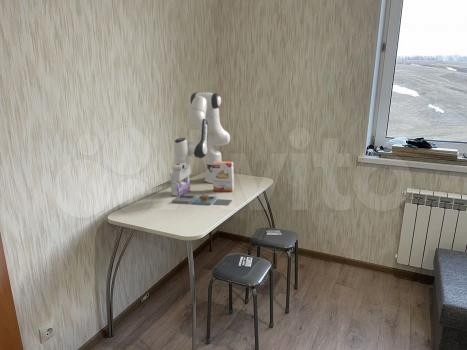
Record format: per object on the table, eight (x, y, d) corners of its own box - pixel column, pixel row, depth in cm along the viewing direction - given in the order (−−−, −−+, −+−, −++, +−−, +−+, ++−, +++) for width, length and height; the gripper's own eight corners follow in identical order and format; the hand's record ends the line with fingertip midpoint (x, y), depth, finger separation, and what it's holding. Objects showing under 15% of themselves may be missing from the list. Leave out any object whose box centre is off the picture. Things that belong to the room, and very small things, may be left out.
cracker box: (213, 191, 246) (211, 162, 241) (215, 189, 252) (214, 160, 247) (232, 192, 243) (231, 163, 238) (234, 189, 249) (233, 161, 243)
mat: (217, 200, 227) (217, 199, 227) (232, 201, 225) (232, 199, 225) (212, 205, 218) (212, 204, 218) (228, 206, 215) (227, 205, 215)
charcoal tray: (180, 197, 236) (179, 194, 235) (196, 198, 232) (196, 195, 232) (172, 203, 224) (172, 200, 224) (189, 204, 221) (189, 201, 221)
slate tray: (199, 198, 232) (199, 195, 231) (216, 199, 229) (216, 196, 228) (192, 204, 221) (192, 201, 220) (210, 205, 217) (210, 202, 217)
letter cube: (203, 200, 227) (202, 194, 226) (208, 200, 226) (208, 194, 225) (200, 202, 223) (200, 196, 222) (206, 202, 222) (206, 196, 221)
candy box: (184, 190, 252) (182, 168, 248) (190, 191, 249) (189, 169, 245) (171, 195, 241) (169, 172, 236) (178, 196, 238) (176, 173, 233)
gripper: (183, 160, 233) (185, 180, 236) (170, 167, 214) (172, 189, 217) (192, 160, 231) (194, 180, 234) (180, 167, 212) (181, 189, 215)
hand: (183, 184), depth 226 cm, fingers open, 8 cm apart
